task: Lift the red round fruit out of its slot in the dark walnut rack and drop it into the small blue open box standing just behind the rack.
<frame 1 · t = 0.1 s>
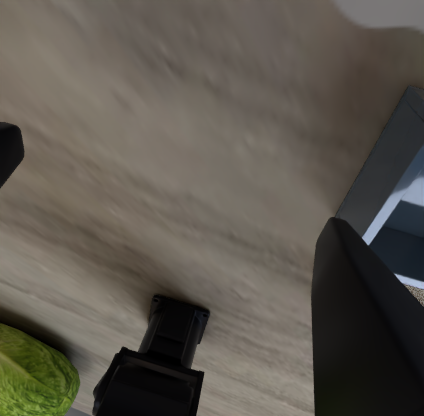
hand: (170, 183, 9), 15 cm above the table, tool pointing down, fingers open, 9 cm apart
lettuce: (16, 332, 49), on the table
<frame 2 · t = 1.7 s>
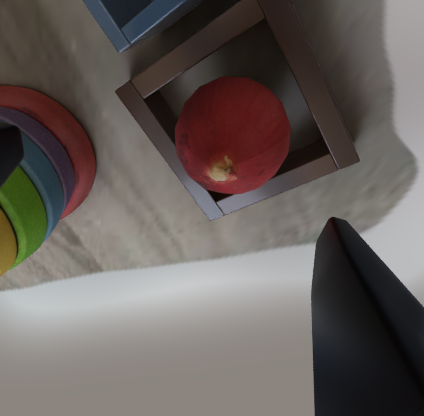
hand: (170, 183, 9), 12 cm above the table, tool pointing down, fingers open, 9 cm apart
red round fruit: (241, 111, 20), resting in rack
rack: (240, 112, 20), on the table
stacking bear: (38, 148, 25), on the table
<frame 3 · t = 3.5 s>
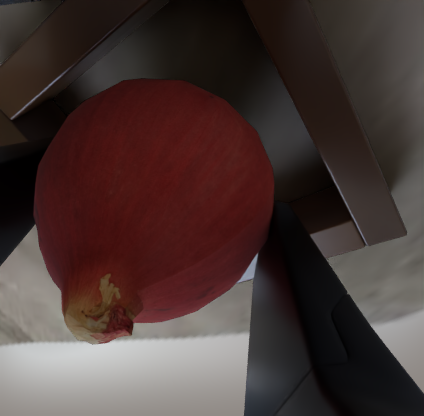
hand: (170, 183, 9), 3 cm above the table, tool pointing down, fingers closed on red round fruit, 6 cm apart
red round fruit: (196, 137, 12), resting in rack, touching gripper
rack: (195, 139, 12), on the table
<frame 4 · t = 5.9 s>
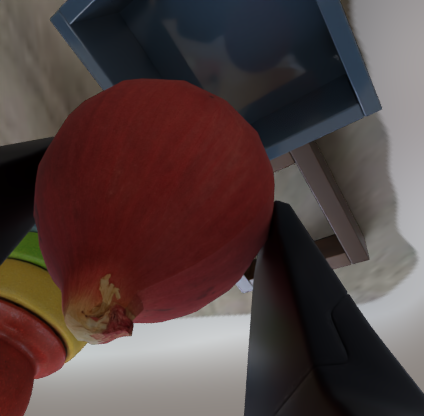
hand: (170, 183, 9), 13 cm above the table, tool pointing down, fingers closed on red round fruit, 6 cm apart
red round fruit: (196, 137, 12), point 9 cm above the table, touching gripper
blue open box: (232, 40, 18), on the table
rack: (270, 211, 24), on the table
stacking bear: (95, 225, 29), on the table
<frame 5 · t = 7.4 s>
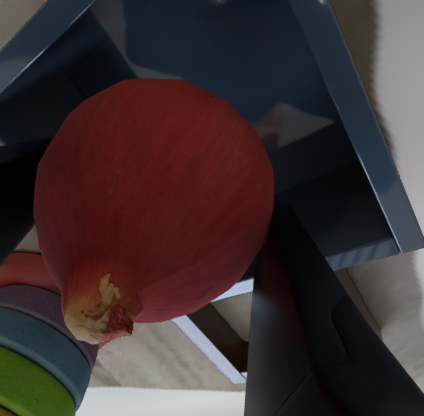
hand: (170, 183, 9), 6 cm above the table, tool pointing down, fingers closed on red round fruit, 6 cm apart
red round fruit: (196, 137, 12), point 3 cm above the table, touching gripper
blue open box: (216, 110, 14), on the table
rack: (266, 296, 20), on the table
stacking bear: (62, 295, 25), on the table
when the fingers open (4 cm above the table, at t = 8.9 s): red round fruit stays where it is, resting on blue open box.
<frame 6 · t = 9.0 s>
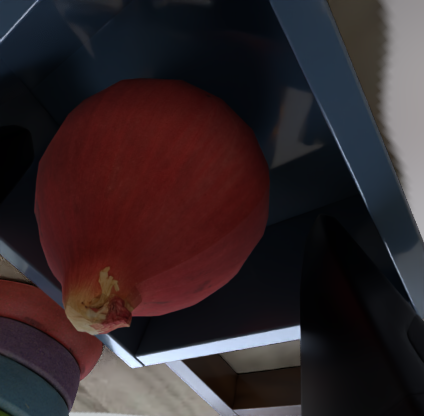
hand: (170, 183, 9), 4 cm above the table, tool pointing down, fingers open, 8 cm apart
red round fruit: (194, 136, 12), resting on blue open box
blue open box: (200, 133, 12), on the table
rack: (261, 329, 18), on the table
stacking bear: (41, 322, 23), on the table
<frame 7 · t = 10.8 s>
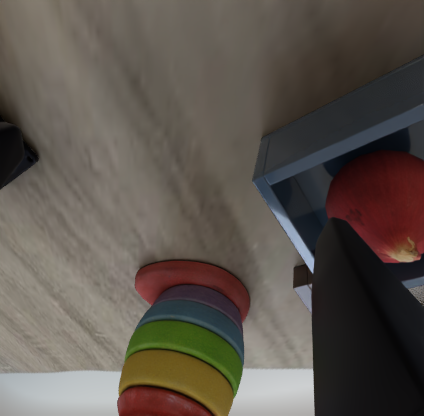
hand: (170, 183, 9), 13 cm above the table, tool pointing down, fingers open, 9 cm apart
red round fruit: (370, 169, 21), resting on blue open box
blue open box: (372, 167, 21), on the table
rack: (377, 292, 27), on the table
stacking bear: (201, 293, 32), on the table
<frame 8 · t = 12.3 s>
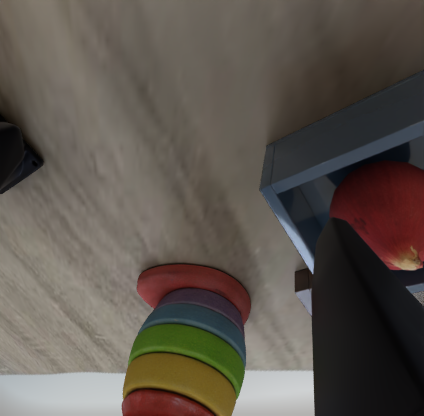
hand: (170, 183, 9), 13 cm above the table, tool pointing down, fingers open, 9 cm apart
red round fruit: (372, 178, 21), resting on blue open box
blue open box: (374, 176, 22), on the table
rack: (376, 296, 28), on the table
stacking bear: (202, 296, 33), on the table
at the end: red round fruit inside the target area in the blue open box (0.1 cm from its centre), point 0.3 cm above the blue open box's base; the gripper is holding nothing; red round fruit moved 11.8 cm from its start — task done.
